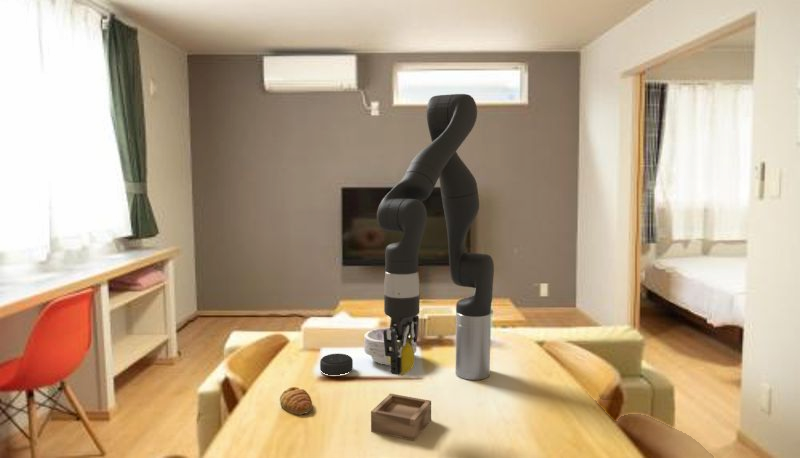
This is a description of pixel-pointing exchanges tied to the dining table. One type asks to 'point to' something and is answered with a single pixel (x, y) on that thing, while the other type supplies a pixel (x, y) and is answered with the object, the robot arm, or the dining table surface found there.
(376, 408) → the open wooden tray
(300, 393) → the pastry
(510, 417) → the dining table surface
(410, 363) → the lemon
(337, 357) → the smart speaker
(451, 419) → the dining table surface
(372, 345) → the paper bowls
